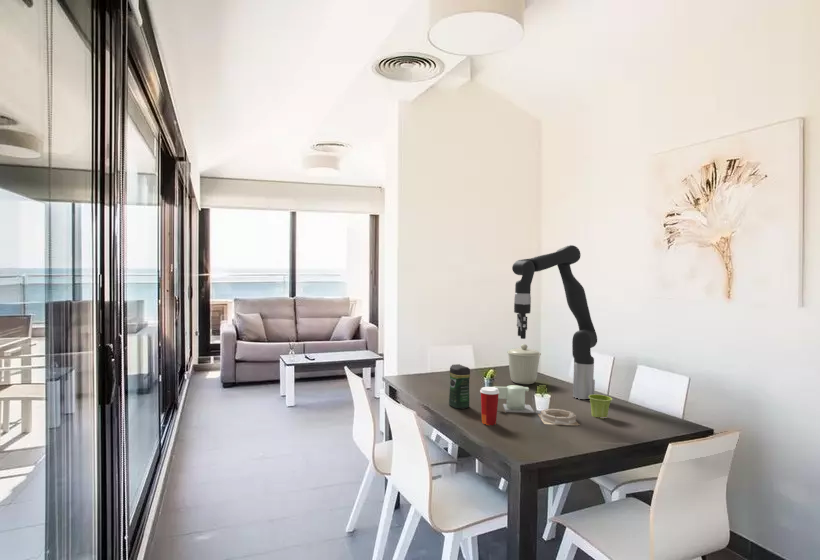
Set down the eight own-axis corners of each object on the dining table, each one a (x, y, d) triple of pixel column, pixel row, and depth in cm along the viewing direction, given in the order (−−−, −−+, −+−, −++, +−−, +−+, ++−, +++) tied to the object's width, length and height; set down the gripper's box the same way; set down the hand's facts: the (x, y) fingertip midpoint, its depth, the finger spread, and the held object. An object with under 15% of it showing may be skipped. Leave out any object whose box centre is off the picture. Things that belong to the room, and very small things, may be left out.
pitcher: (525, 405, 225) (526, 385, 224) (529, 410, 217) (530, 390, 216) (491, 404, 225) (492, 384, 225) (493, 409, 217) (494, 389, 217)
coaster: (529, 406, 226) (529, 404, 226) (534, 414, 214) (534, 412, 214) (502, 405, 227) (502, 403, 227) (506, 413, 215) (506, 411, 215)
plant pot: (613, 417, 213) (614, 396, 213) (608, 422, 205) (609, 401, 205) (591, 413, 218) (591, 393, 218) (585, 418, 210) (585, 397, 210)
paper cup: (501, 422, 202) (502, 388, 201) (494, 427, 195) (495, 392, 195) (483, 419, 206) (484, 385, 205) (475, 424, 199) (476, 389, 199)
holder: (570, 416, 212) (571, 409, 212) (579, 426, 198) (580, 419, 198) (537, 415, 213) (537, 407, 213) (544, 425, 199) (544, 417, 199)
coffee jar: (472, 408, 221) (473, 366, 221) (456, 410, 218) (457, 367, 218) (461, 402, 230) (462, 362, 230) (446, 404, 227) (447, 363, 226)
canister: (511, 377, 286) (512, 340, 285) (543, 381, 278) (544, 343, 277) (502, 383, 270) (503, 344, 269) (536, 388, 262) (537, 348, 261)
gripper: (512, 301, 241) (511, 335, 242) (516, 303, 227) (515, 339, 228) (527, 302, 241) (526, 335, 241) (533, 304, 227) (532, 339, 227)
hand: (521, 337), depth 235 cm, fingers open, 8 cm apart
